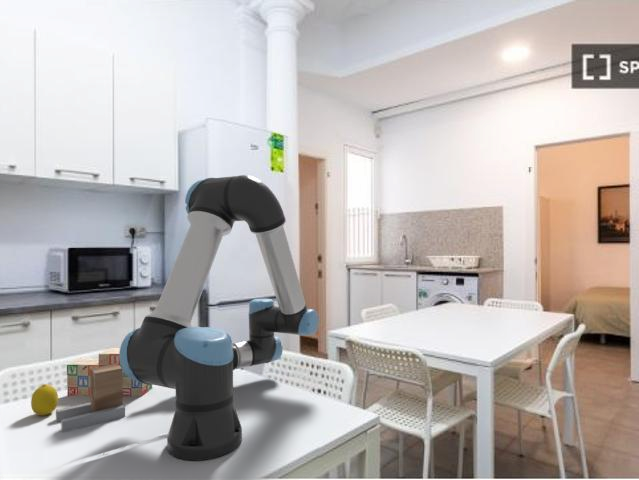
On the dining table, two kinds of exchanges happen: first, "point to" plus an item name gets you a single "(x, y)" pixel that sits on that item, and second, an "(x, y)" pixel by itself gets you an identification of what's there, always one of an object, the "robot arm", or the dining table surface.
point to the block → (106, 387)
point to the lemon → (44, 400)
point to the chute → (86, 416)
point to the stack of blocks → (81, 368)
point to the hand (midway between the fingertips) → (150, 373)
